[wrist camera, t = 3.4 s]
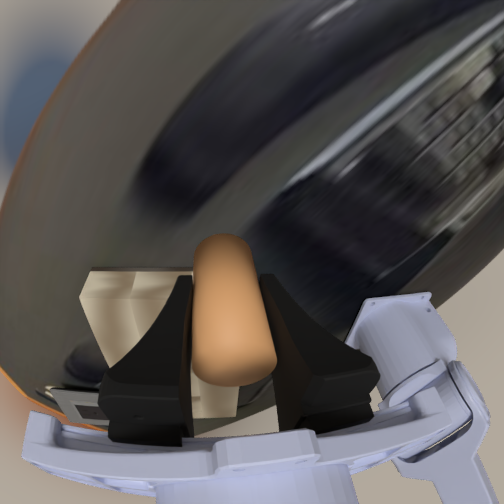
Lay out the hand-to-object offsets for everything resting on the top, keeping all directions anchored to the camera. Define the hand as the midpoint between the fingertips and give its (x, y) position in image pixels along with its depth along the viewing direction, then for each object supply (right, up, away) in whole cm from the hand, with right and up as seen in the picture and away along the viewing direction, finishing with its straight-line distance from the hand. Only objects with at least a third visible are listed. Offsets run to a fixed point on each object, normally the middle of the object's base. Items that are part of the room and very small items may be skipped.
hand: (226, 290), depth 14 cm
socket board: (-6, -8, +13) cm, 16 cm away
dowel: (0, +2, +2) cm, 3 cm away
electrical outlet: (-20, -19, +19) cm, 33 cm away
